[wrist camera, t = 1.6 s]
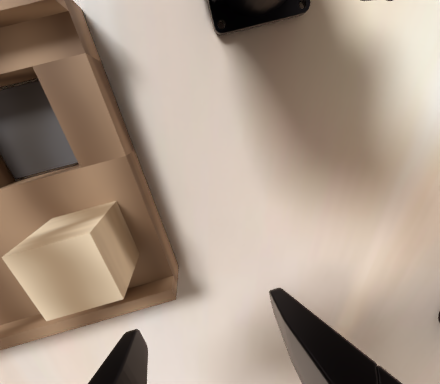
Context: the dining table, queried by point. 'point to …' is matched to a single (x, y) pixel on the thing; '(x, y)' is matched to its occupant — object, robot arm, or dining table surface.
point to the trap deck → (67, 160)
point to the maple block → (76, 261)
